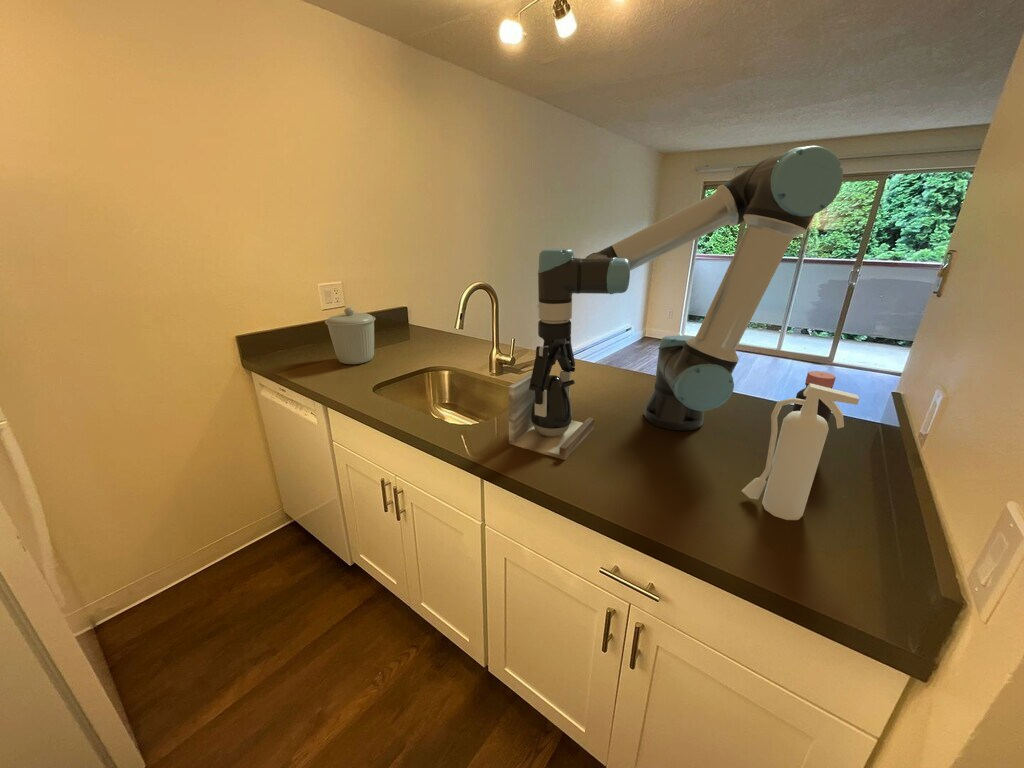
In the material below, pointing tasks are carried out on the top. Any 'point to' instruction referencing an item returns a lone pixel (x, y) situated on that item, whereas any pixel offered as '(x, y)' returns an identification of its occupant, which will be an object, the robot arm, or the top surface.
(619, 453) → the top surface
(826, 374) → the vinegar
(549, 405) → the pump dispenser
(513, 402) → the ledge rack
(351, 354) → the canister
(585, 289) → the robot arm
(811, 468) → the fire extinguisher
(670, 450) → the top surface
